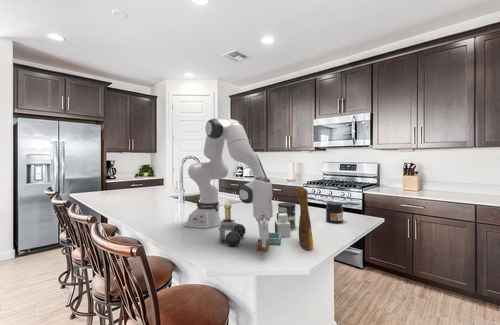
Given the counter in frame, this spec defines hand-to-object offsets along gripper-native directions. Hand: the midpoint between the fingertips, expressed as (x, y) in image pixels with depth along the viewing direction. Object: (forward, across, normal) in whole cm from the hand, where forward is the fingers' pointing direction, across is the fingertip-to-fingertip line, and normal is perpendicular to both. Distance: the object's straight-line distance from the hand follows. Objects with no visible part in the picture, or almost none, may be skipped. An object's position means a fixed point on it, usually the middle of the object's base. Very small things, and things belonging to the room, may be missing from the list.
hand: (263, 242), depth 115 cm
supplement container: (+3, +47, -48) cm, 67 cm away
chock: (+3, 0, 0) cm, 3 cm away
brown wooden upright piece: (+3, +6, -20) cm, 21 cm away
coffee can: (+3, +34, -16) cm, 38 cm away
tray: (+3, +11, -5) cm, 12 cm away
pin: (-5, +12, +17) cm, 22 cm away
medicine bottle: (+3, +21, -12) cm, 24 cm away
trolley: (+3, +11, +15) cm, 19 cm away
